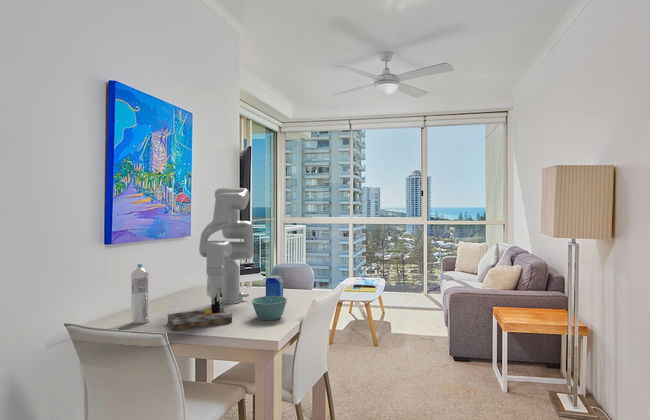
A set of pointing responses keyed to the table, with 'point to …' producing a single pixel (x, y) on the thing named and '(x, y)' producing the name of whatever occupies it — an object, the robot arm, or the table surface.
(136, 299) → the water bottle
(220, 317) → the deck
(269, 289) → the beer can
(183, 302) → the table surface
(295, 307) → the table surface
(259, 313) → the bowl
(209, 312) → the ball
